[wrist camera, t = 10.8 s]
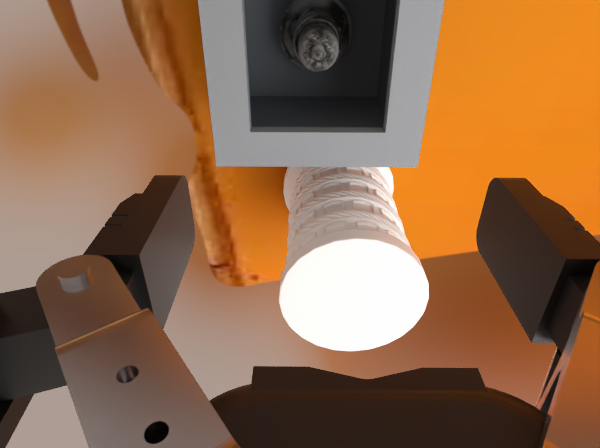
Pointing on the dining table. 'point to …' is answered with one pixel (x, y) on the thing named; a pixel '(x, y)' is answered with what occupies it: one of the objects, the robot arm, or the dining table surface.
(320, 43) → the salt shaker
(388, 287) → the decorative container
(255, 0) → the box
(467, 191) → the dining table surface
